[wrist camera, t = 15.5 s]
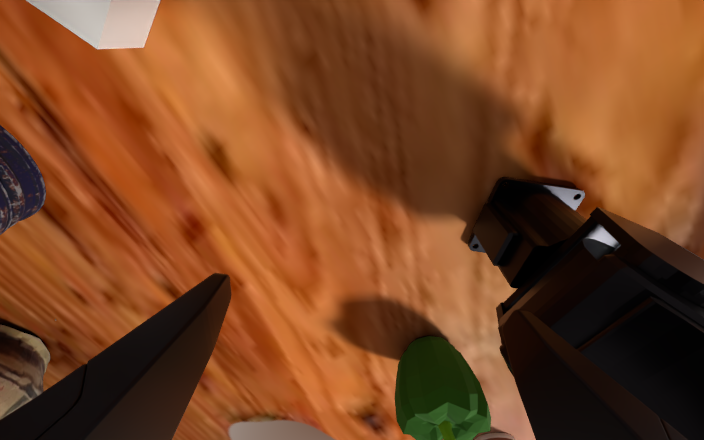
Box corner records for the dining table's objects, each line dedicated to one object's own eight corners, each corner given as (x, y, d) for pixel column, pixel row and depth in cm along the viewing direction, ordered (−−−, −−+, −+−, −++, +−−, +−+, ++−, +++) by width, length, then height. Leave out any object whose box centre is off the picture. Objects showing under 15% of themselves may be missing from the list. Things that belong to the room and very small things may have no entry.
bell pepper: (375, 345, 32) (382, 457, 23) (442, 315, 29) (477, 430, 20) (415, 378, 35) (433, 486, 27) (477, 355, 32) (521, 467, 24)
